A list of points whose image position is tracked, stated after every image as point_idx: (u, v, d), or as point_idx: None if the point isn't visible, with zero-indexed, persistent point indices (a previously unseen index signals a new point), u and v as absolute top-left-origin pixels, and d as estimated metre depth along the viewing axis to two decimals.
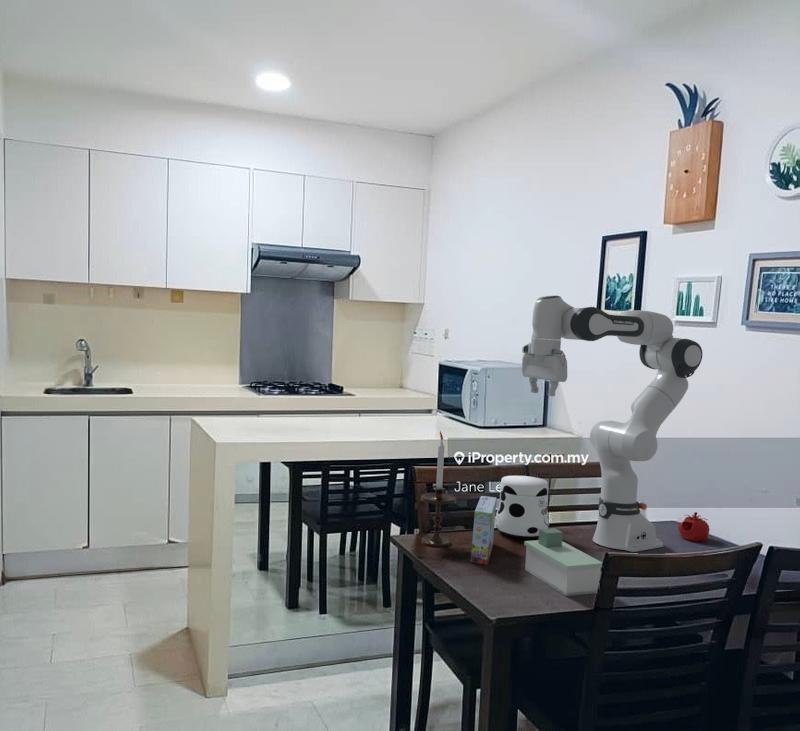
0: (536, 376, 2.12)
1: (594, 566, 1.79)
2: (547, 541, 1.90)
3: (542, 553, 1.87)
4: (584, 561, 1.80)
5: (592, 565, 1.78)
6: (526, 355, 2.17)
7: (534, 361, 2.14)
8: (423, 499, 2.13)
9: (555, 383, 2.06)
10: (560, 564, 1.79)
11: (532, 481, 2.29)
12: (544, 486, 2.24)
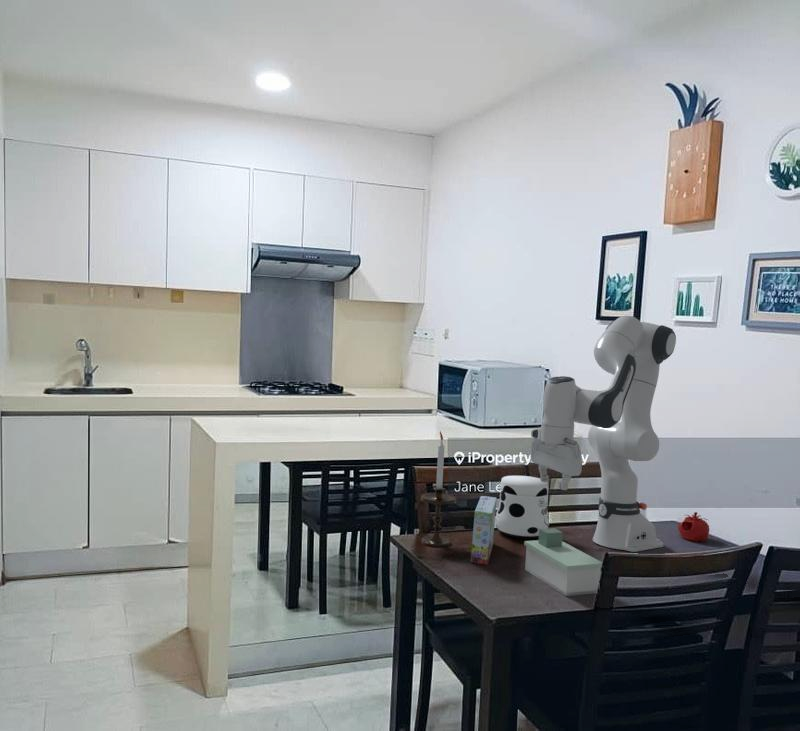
0: (546, 465, 1.92)
1: (594, 566, 1.79)
2: (547, 541, 1.90)
3: (542, 553, 1.87)
4: (584, 561, 1.80)
5: (592, 565, 1.78)
6: (535, 440, 1.97)
7: (544, 448, 1.94)
8: (423, 499, 2.13)
9: (568, 476, 1.86)
10: (560, 564, 1.79)
11: (532, 481, 2.29)
12: (544, 486, 2.24)
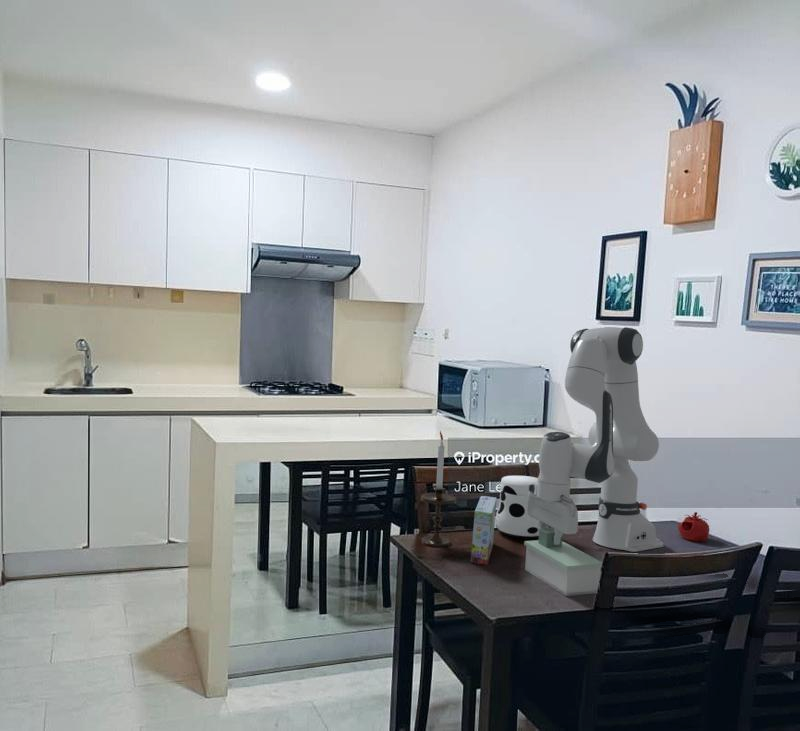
0: (543, 521, 1.93)
1: (594, 566, 1.79)
2: (547, 541, 1.90)
3: (542, 553, 1.87)
4: (584, 561, 1.80)
5: (592, 565, 1.78)
6: (532, 495, 1.97)
7: (541, 503, 1.95)
8: (423, 499, 2.13)
9: (560, 531, 1.89)
10: (560, 564, 1.79)
11: (532, 481, 2.29)
12: None
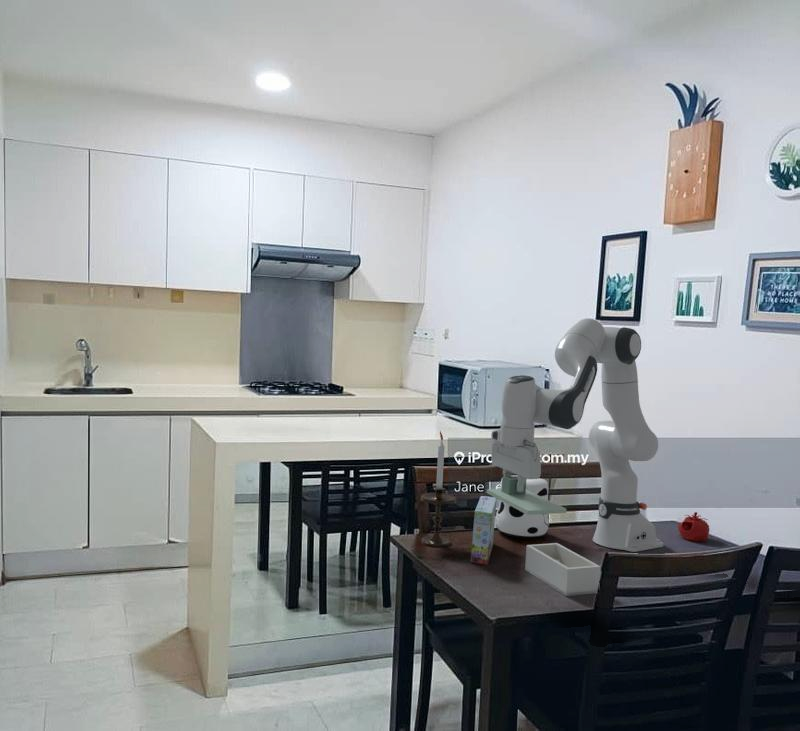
0: (506, 468, 1.85)
1: (556, 512, 1.71)
2: (510, 488, 1.82)
3: (504, 500, 1.78)
4: (546, 507, 1.72)
5: (554, 510, 1.70)
6: (495, 442, 1.89)
7: (504, 450, 1.87)
8: (423, 499, 2.13)
9: (523, 478, 1.81)
10: (521, 509, 1.71)
11: (532, 481, 2.29)
12: (544, 486, 2.24)
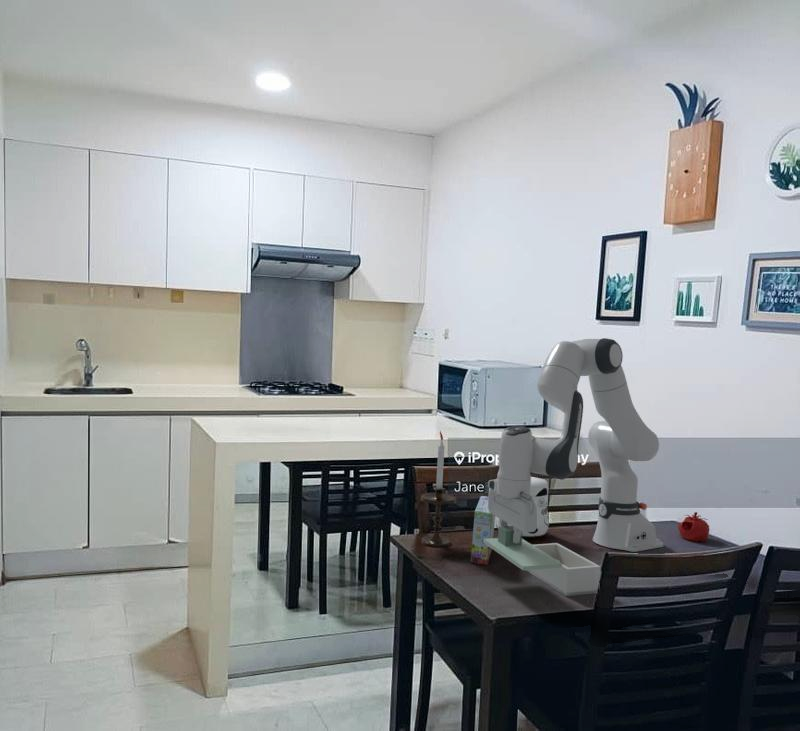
0: (503, 518, 1.86)
1: (552, 566, 1.71)
2: (506, 539, 1.83)
3: (500, 552, 1.79)
4: (541, 561, 1.73)
5: (550, 565, 1.71)
6: (492, 491, 1.90)
7: (501, 500, 1.88)
8: (423, 499, 2.13)
9: (519, 529, 1.81)
10: (516, 564, 1.71)
11: (532, 481, 2.29)
12: (544, 486, 2.24)
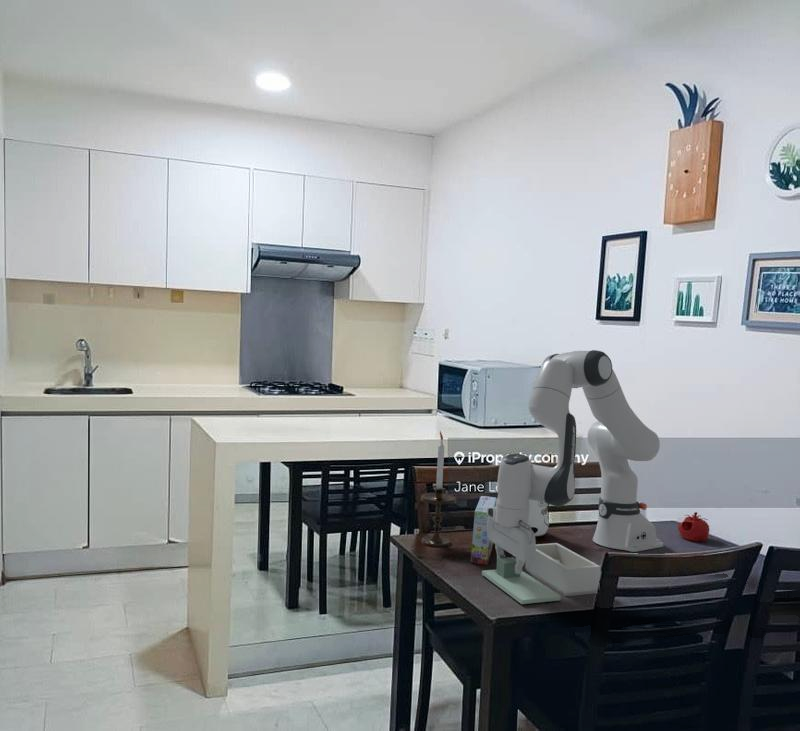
0: (502, 546, 1.86)
1: (550, 599, 1.72)
2: (504, 571, 1.84)
3: (498, 584, 1.80)
4: (540, 594, 1.73)
5: (548, 598, 1.72)
6: (491, 519, 1.90)
7: (500, 527, 1.88)
8: (423, 499, 2.13)
9: None
10: (515, 597, 1.72)
11: None
12: None
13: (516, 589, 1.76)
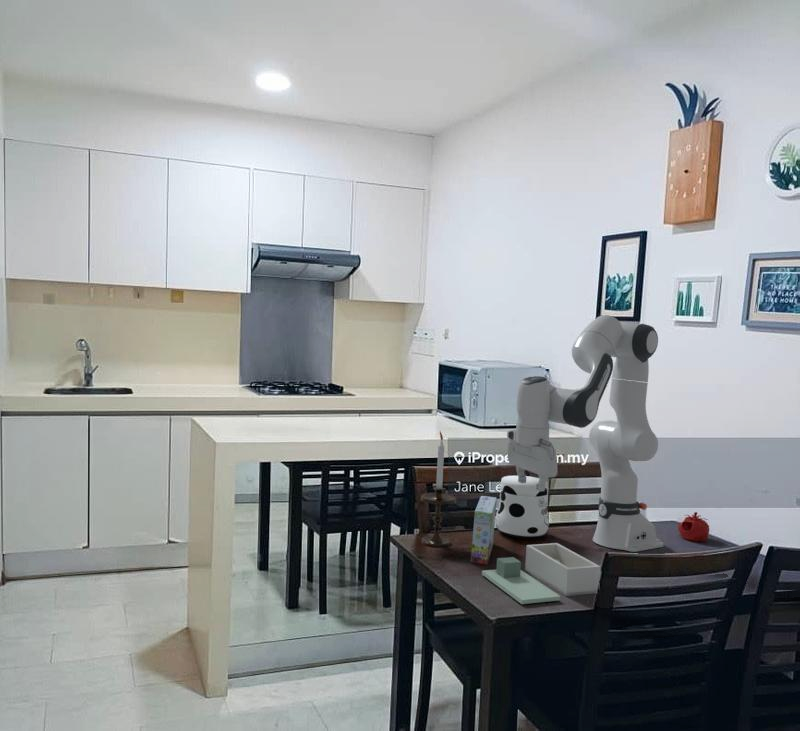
0: (523, 466, 1.91)
1: (550, 599, 1.72)
2: (504, 571, 1.84)
3: (498, 584, 1.80)
4: (540, 594, 1.73)
5: (548, 598, 1.72)
6: (511, 441, 1.95)
7: (520, 449, 1.93)
8: (423, 499, 2.13)
9: (544, 477, 1.84)
10: (515, 597, 1.72)
11: (532, 481, 2.29)
12: None
13: (516, 589, 1.76)
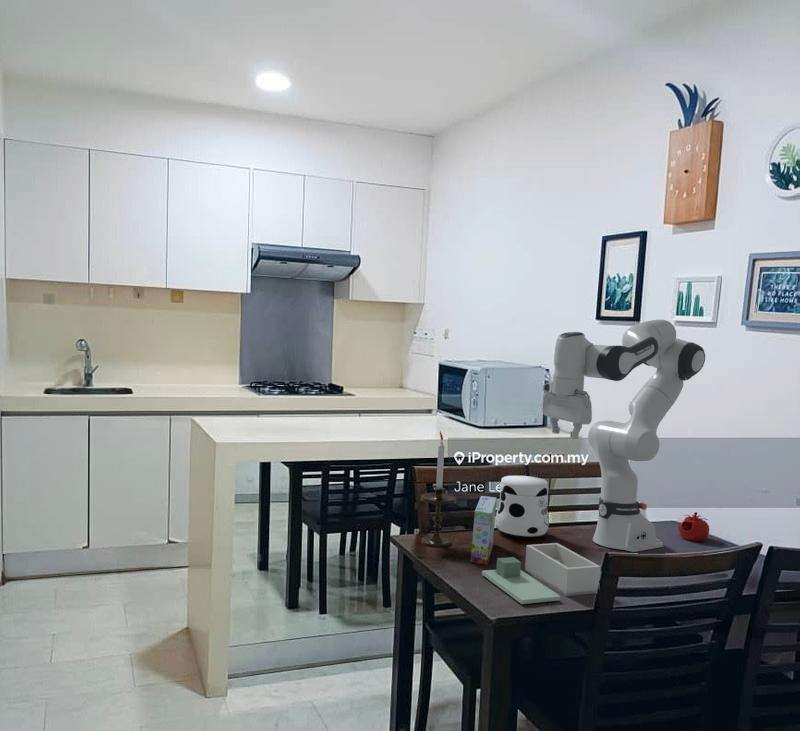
0: (558, 416, 2.02)
1: (550, 599, 1.72)
2: (504, 571, 1.84)
3: (498, 584, 1.80)
4: (540, 594, 1.73)
5: (548, 598, 1.72)
6: (547, 394, 2.06)
7: (555, 400, 2.04)
8: (423, 499, 2.13)
9: (578, 425, 1.96)
10: (515, 597, 1.72)
11: (532, 481, 2.29)
12: (544, 486, 2.24)
13: (516, 589, 1.76)
